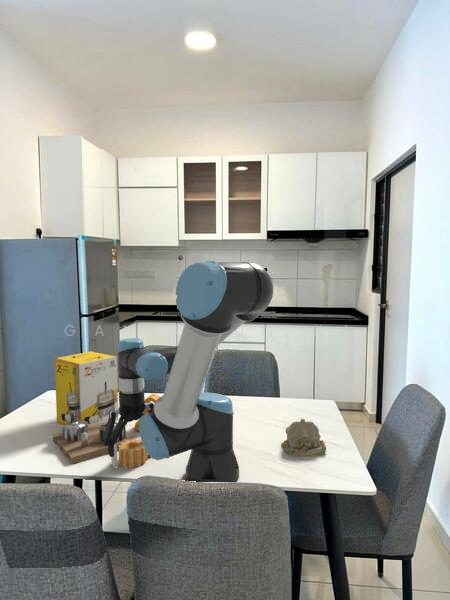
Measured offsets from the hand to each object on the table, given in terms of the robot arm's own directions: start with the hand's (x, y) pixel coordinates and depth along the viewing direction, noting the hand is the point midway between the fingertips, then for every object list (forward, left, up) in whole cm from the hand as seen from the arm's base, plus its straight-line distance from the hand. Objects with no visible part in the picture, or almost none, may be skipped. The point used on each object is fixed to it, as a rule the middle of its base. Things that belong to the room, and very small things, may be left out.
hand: (133, 460), depth 122 cm
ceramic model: (-26, -47, -1) cm, 54 cm away
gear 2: (+15, 0, +2) cm, 15 cm away
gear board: (+20, +5, 0) cm, 21 cm away
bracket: (+19, -16, 0) cm, 25 cm away
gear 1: (+25, +10, +2) cm, 27 cm away
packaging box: (+41, 0, 0) cm, 41 cm away
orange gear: (0, 0, 0) cm, 0 cm away
